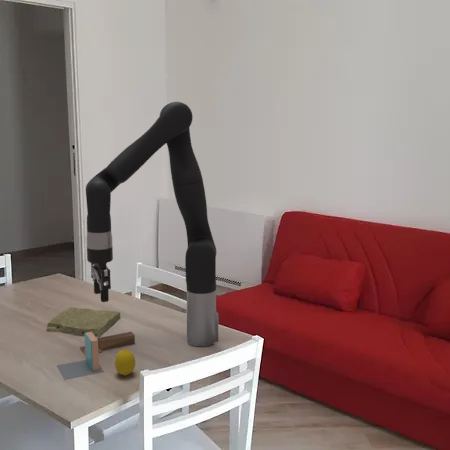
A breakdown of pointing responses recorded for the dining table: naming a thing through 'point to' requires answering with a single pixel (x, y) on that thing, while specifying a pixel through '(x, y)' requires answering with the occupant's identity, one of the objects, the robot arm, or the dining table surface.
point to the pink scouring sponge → (91, 351)
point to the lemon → (125, 362)
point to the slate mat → (76, 369)
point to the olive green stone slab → (83, 321)
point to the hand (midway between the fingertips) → (101, 297)
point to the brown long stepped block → (114, 341)
